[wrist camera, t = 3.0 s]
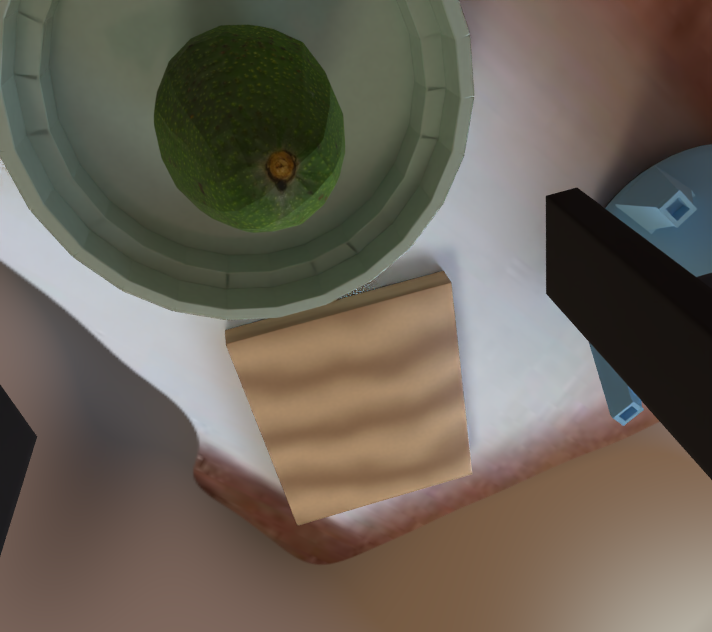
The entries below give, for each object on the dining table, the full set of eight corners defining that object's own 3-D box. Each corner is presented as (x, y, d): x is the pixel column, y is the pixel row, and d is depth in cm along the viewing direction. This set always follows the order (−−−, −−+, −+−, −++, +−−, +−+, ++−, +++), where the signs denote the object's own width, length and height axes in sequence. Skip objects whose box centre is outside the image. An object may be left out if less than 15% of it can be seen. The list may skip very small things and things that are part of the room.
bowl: (-91, -105, 24) (-145, -106, 20) (415, -217, 25) (452, -238, 21) (122, 315, 35) (112, 363, 32) (458, 225, 37) (486, 261, 33)
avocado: (352, 122, 32) (418, 219, 22) (227, 203, 33) (237, 331, 23) (262, -30, 27) (296, 8, 17) (121, 71, 28) (78, 159, 18)
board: (224, 329, 37) (225, 344, 36) (443, 270, 38) (451, 282, 37) (295, 510, 48) (297, 525, 47) (465, 460, 49) (472, 474, 47)
